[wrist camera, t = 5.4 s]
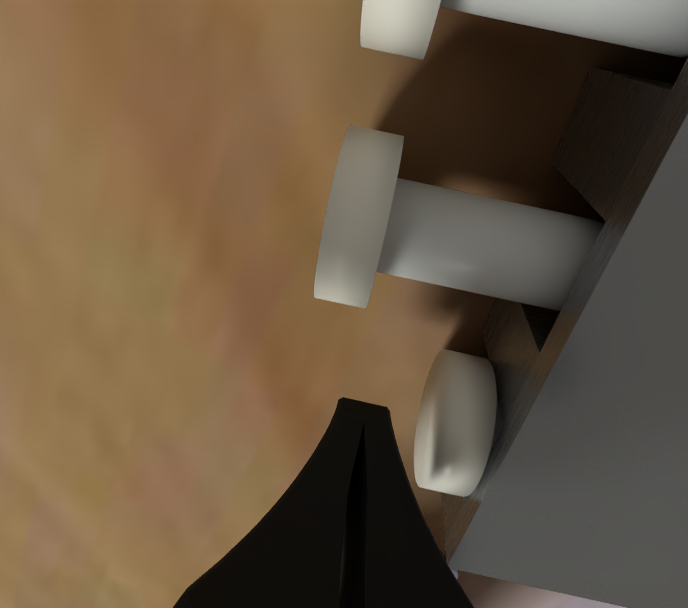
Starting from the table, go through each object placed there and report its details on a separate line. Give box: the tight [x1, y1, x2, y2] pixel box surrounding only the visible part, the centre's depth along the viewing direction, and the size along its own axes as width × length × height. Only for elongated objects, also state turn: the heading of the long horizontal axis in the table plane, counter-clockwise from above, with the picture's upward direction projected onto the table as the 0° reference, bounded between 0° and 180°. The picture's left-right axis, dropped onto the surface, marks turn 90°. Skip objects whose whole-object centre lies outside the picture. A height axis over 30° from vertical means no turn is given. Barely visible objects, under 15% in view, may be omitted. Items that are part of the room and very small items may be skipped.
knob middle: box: [314, 125, 605, 311], centre depth 11 cm, size 4×8×4 cm, turn 80°
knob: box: [414, 349, 503, 497], centre depth 14 cm, size 4×8×4 cm, turn 80°
